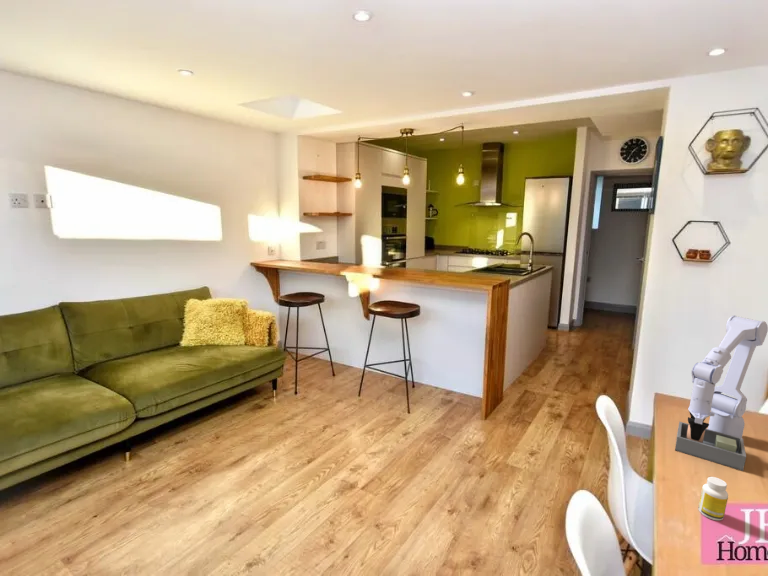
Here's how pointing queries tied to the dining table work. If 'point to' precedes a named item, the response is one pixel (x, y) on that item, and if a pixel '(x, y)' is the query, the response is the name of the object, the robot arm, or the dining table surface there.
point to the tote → (711, 448)
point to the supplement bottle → (713, 499)
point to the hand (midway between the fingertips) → (695, 434)
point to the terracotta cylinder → (690, 435)
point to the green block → (725, 443)
